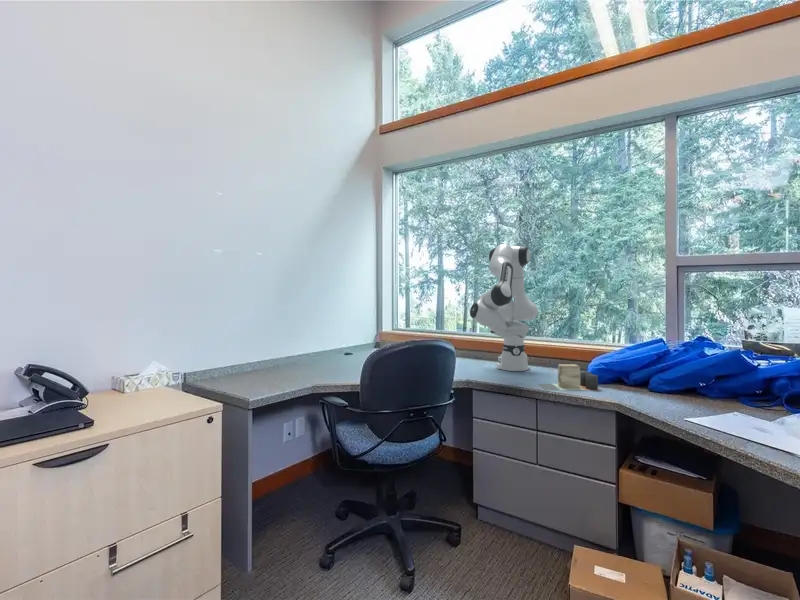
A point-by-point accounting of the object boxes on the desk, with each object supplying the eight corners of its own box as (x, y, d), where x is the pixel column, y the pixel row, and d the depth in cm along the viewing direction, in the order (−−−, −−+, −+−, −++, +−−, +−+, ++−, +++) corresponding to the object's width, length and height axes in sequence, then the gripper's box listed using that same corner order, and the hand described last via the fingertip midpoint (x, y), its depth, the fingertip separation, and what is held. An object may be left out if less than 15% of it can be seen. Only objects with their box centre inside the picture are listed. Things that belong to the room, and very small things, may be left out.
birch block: (558, 385, 187) (558, 364, 187) (575, 385, 187) (575, 364, 187) (562, 388, 182) (562, 366, 182) (579, 388, 182) (580, 366, 182)
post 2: (583, 387, 184) (583, 374, 184) (594, 387, 184) (594, 374, 184) (588, 389, 179) (588, 376, 179) (599, 389, 179) (600, 376, 179)
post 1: (578, 384, 190) (578, 371, 190) (588, 384, 190) (589, 371, 190) (582, 386, 185) (582, 373, 185) (593, 386, 185) (593, 373, 185)
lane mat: (536, 384, 191) (536, 383, 191) (589, 385, 190) (589, 383, 190) (545, 391, 179) (545, 390, 179) (601, 391, 178) (601, 390, 178)
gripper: (515, 314, 181) (539, 327, 184) (491, 321, 200) (513, 332, 203) (512, 327, 179) (536, 340, 182) (487, 332, 198) (509, 344, 201)
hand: (523, 336), depth 193 cm, fingers closed
